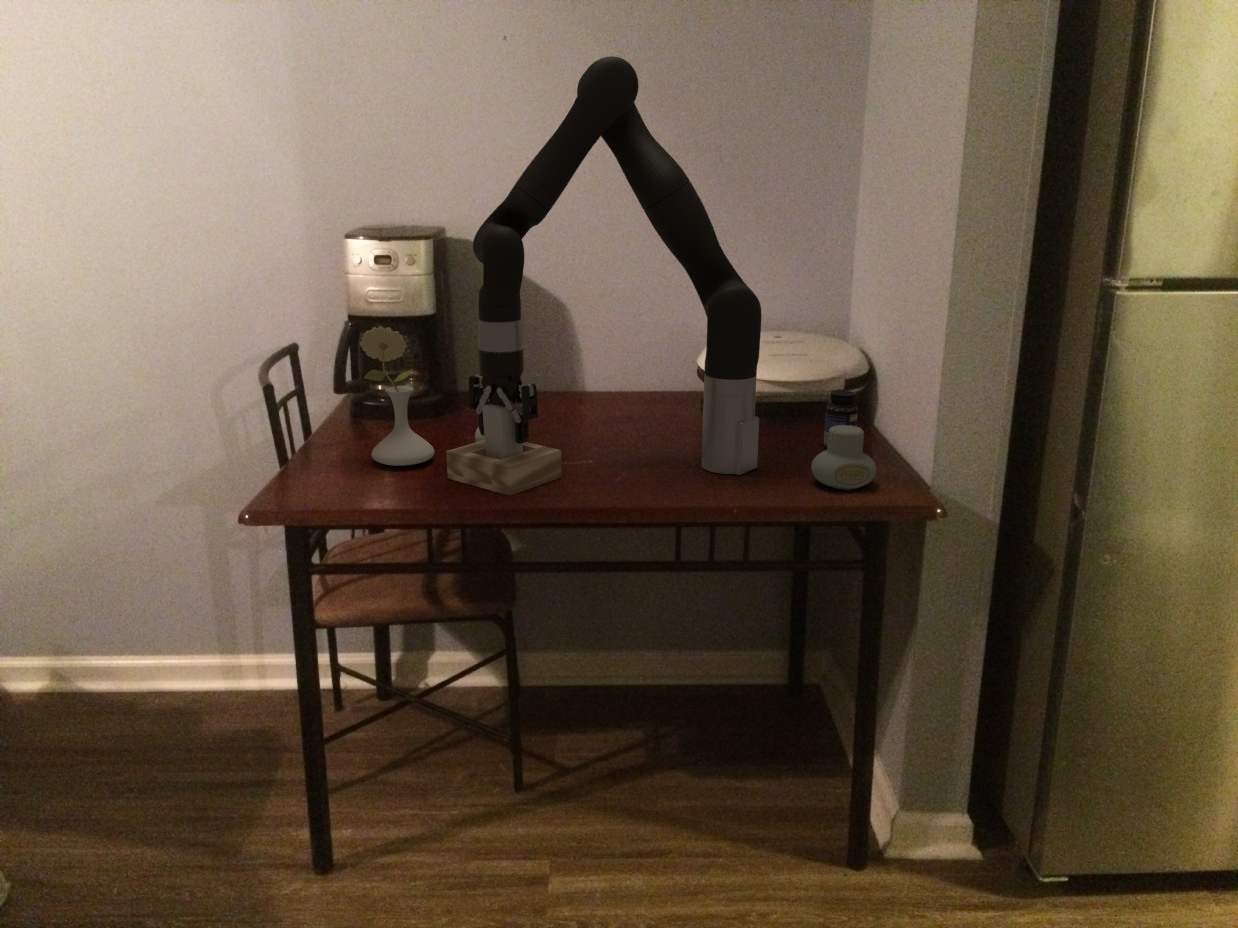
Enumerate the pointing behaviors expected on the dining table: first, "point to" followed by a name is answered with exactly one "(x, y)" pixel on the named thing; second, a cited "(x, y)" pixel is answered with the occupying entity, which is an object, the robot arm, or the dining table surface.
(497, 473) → the caddy
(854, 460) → the air freshener
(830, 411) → the pill bottle
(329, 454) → the dining table surface
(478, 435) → the white egg
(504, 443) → the skincare box
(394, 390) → the flower in vase
